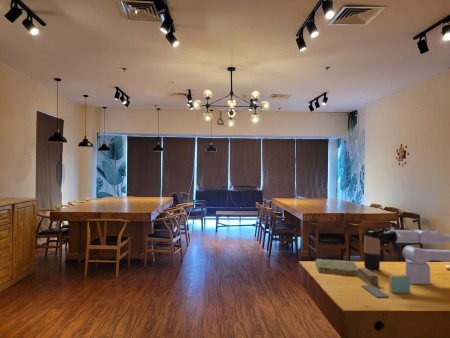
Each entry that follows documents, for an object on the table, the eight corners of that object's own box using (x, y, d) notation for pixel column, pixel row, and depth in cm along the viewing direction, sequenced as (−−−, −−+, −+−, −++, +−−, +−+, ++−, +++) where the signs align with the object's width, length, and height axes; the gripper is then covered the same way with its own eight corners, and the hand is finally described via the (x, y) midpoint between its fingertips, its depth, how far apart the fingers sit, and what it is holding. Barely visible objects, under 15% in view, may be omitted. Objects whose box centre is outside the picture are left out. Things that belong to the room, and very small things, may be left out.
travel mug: (367, 265, 176) (367, 229, 176) (382, 269, 170) (382, 230, 170) (361, 268, 171) (361, 230, 171) (376, 272, 165) (376, 232, 165)
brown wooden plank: (365, 277, 157) (365, 267, 157) (378, 285, 145) (378, 275, 146) (358, 277, 157) (358, 268, 157) (370, 286, 145) (370, 276, 145)
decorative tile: (315, 264, 181) (315, 257, 181) (353, 266, 177) (353, 259, 177) (317, 274, 162) (317, 267, 162) (360, 277, 158) (360, 269, 158)
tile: (407, 291, 138) (407, 275, 139) (410, 293, 136) (410, 276, 137) (389, 291, 138) (389, 275, 138) (392, 293, 136) (392, 276, 136)
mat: (372, 286, 144) (372, 285, 144) (388, 297, 131) (388, 296, 131) (361, 286, 144) (361, 285, 144) (376, 297, 131) (376, 296, 131)
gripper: (393, 226, 158) (366, 225, 158) (412, 229, 144) (382, 228, 143) (393, 240, 158) (366, 240, 157) (412, 245, 144) (382, 245, 143)
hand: (373, 235), depth 150 cm, fingers open, 7 cm apart
